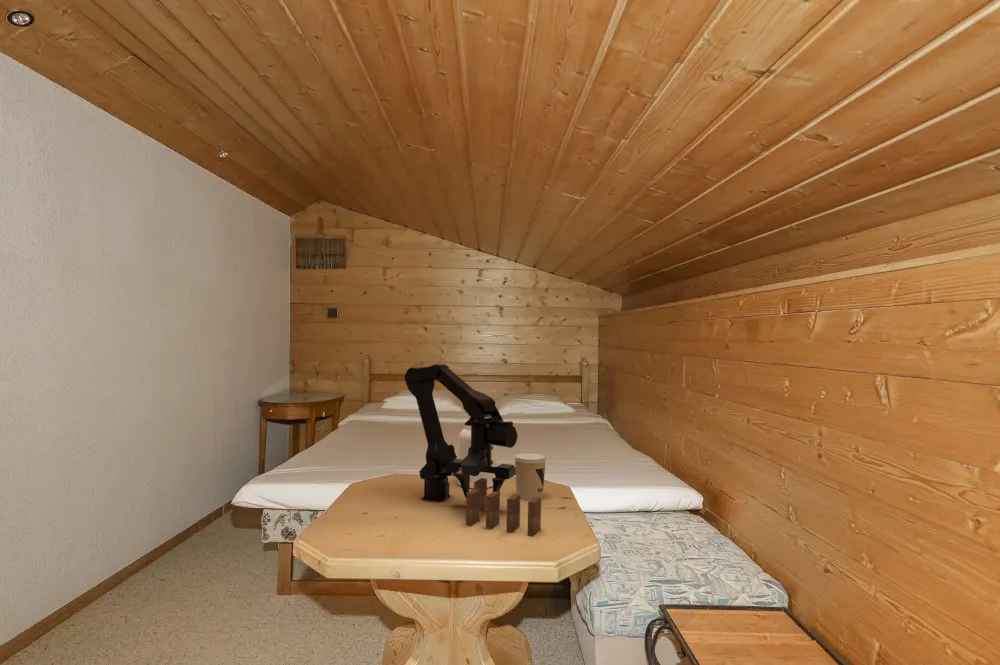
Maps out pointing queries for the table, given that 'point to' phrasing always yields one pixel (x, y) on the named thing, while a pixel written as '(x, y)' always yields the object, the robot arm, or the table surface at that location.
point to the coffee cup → (530, 475)
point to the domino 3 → (492, 510)
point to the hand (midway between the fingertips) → (480, 500)
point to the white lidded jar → (463, 452)
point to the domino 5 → (534, 516)
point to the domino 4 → (513, 513)
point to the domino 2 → (482, 491)
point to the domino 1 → (472, 507)
